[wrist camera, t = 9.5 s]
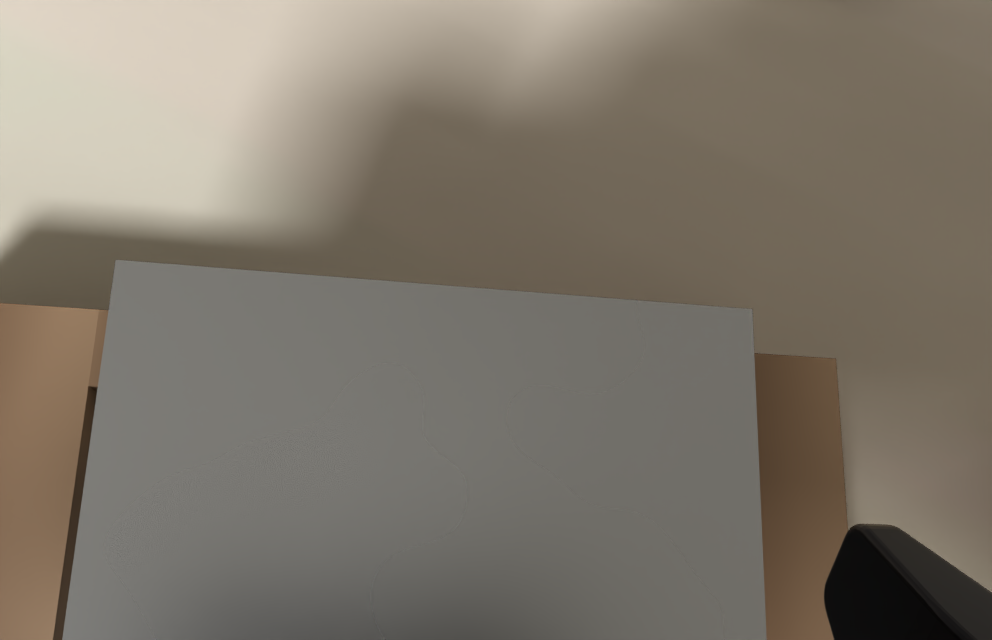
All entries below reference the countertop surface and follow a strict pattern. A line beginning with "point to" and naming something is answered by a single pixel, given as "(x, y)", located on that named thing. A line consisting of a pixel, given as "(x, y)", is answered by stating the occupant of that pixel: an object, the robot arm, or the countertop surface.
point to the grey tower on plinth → (415, 464)
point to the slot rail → (67, 432)
